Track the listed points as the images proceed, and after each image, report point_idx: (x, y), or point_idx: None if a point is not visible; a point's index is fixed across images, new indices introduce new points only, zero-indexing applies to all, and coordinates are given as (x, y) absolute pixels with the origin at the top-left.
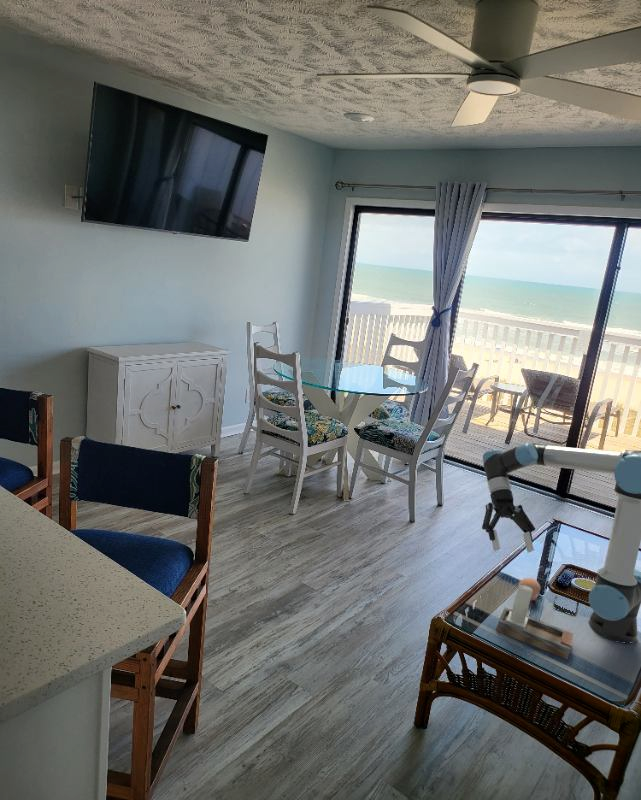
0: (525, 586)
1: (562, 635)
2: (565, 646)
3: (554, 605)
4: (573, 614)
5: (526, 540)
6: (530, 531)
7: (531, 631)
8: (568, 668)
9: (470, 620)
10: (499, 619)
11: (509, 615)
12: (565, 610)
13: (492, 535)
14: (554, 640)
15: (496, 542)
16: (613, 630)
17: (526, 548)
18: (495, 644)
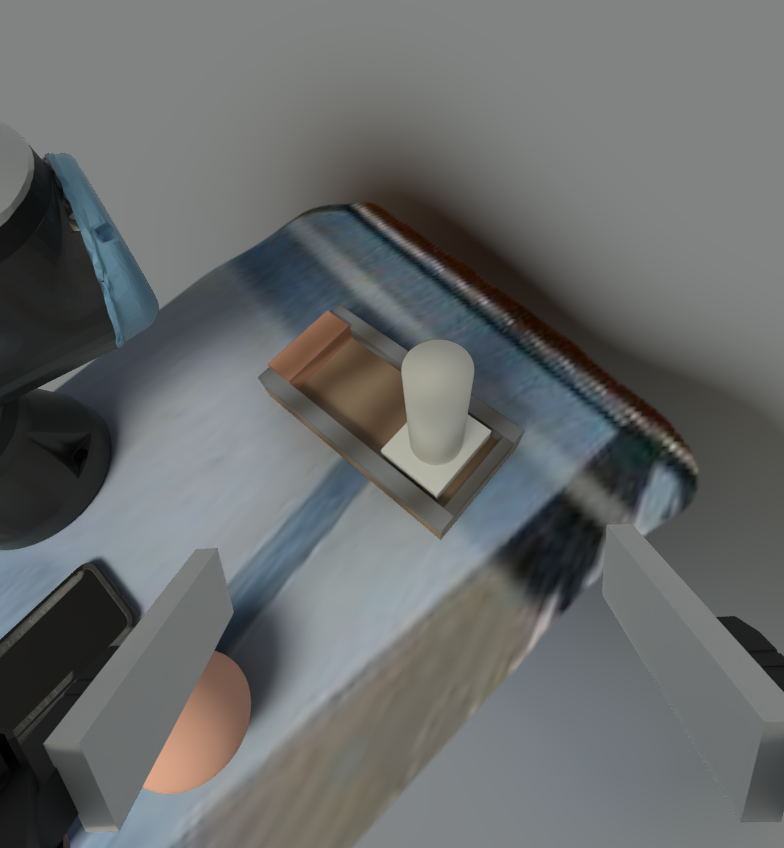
0: (425, 387)
1: (317, 354)
2: (346, 314)
3: (123, 632)
4: (95, 564)
5: (169, 688)
6: (16, 749)
7: (399, 409)
8: (371, 294)
9: (601, 504)
10: (515, 439)
11: (458, 461)
12: (108, 587)
13: (765, 660)
14: (344, 367)
15: (667, 575)
16: (74, 405)
17: (217, 641)
18: (555, 375)
